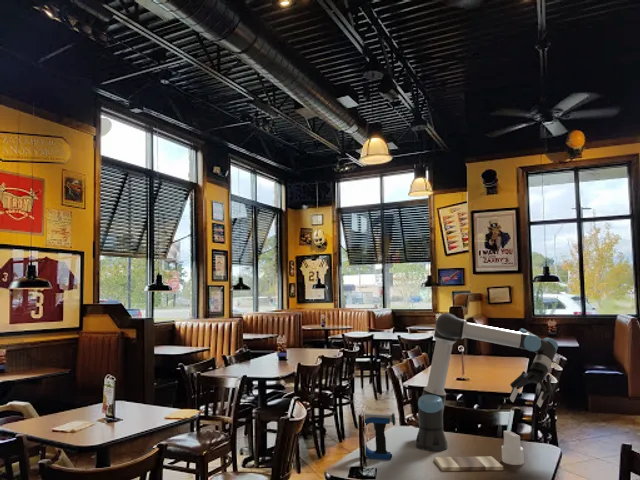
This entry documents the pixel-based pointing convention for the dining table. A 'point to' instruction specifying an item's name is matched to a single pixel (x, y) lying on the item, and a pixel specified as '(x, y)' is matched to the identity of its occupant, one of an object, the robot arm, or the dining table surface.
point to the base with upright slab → (512, 449)
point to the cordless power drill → (379, 434)
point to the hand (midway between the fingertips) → (524, 402)
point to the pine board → (467, 463)
